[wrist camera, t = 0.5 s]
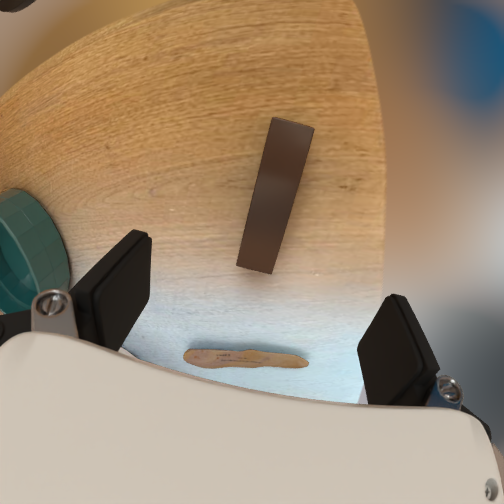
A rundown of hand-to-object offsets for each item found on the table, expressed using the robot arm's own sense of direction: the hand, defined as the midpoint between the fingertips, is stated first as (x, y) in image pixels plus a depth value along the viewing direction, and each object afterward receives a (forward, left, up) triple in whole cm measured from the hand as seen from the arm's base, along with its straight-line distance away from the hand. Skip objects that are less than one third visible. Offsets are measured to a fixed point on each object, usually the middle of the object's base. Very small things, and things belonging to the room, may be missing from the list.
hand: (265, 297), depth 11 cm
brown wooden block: (0, 0, -15) cm, 15 cm away
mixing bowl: (+14, -30, -15) cm, 36 cm away
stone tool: (+20, +2, -15) cm, 25 cm away
